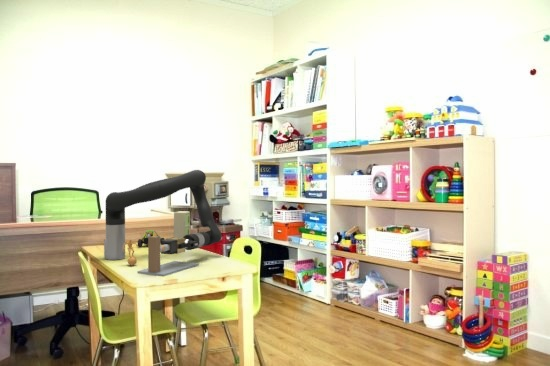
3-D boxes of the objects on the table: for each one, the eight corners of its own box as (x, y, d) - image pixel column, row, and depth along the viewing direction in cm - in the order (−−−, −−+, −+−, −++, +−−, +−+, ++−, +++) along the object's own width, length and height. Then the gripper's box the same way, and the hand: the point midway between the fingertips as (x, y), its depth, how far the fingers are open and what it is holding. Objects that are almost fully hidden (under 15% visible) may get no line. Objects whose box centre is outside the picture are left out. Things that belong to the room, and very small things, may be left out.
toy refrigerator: (185, 249, 259) (185, 212, 259) (173, 249, 261) (173, 212, 260) (191, 247, 267) (191, 211, 267) (179, 247, 269) (179, 211, 268)
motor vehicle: (164, 243, 283) (164, 226, 283) (156, 249, 263) (156, 230, 263) (145, 243, 283) (145, 226, 283) (135, 248, 264) (135, 230, 263)
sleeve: (165, 252, 210) (165, 238, 210) (173, 250, 216) (173, 237, 216) (177, 253, 208) (177, 239, 208) (185, 251, 213) (185, 238, 213)
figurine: (125, 267, 210) (125, 241, 210) (120, 265, 215) (119, 239, 215) (142, 265, 216) (142, 239, 216) (136, 263, 221) (136, 238, 220)
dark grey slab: (160, 253, 207) (160, 240, 207) (166, 252, 210) (166, 239, 210) (171, 254, 204) (171, 241, 204) (176, 253, 208) (176, 240, 208)
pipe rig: (137, 273, 199) (137, 236, 198) (174, 262, 223) (174, 229, 222) (163, 276, 193) (163, 238, 193) (198, 265, 217) (198, 231, 216)
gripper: (181, 232, 228) (159, 236, 212) (206, 234, 222) (185, 238, 207) (181, 247, 228) (159, 253, 213) (206, 249, 222) (185, 255, 207)
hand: (172, 246), depth 210 cm, fingers closed on sleeve, 6 cm apart
